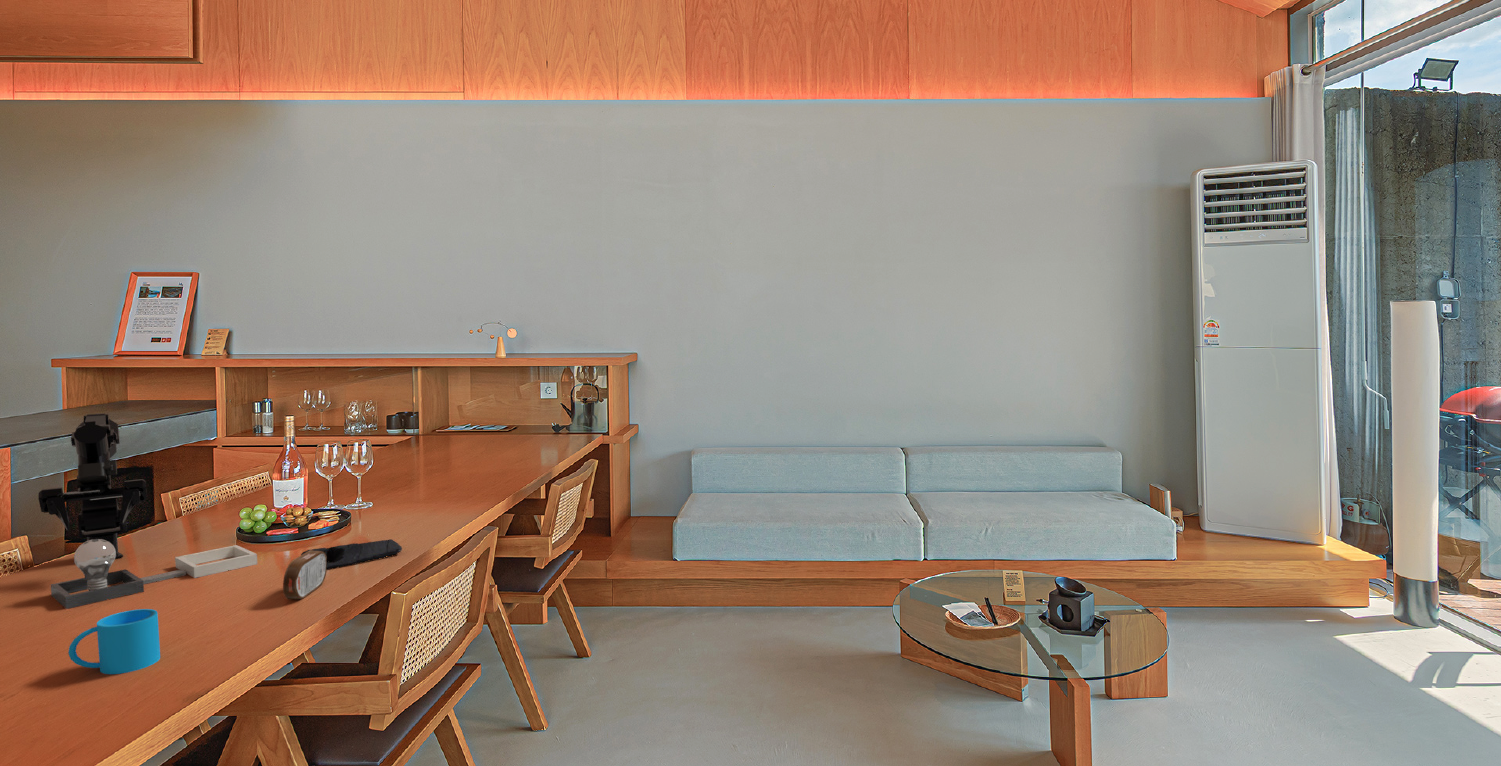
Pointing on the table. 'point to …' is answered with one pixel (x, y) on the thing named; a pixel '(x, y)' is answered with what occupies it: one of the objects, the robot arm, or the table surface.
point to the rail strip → (163, 576)
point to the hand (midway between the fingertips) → (95, 526)
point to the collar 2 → (240, 560)
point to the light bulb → (95, 561)
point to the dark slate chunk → (358, 552)
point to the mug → (123, 642)
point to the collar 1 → (69, 601)
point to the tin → (304, 574)
